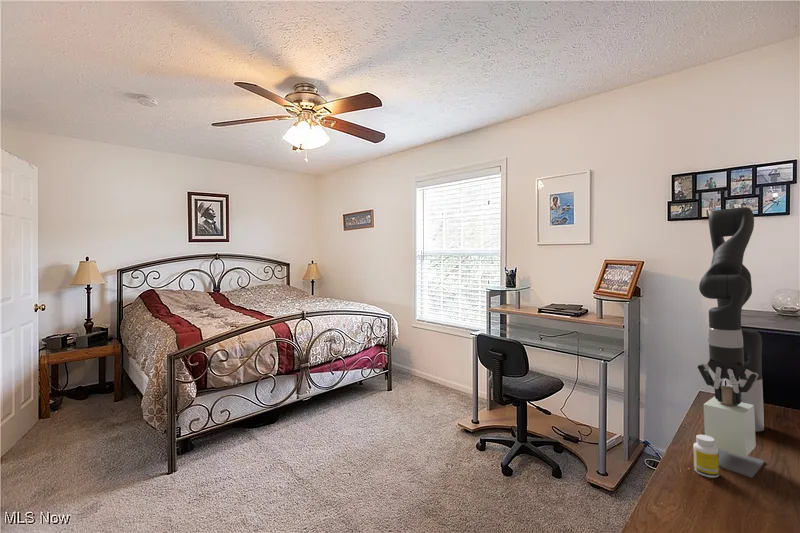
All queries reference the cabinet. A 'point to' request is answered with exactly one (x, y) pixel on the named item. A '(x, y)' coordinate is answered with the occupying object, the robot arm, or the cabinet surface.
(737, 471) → the mat
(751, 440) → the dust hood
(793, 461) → the cabinet surface
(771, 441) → the cabinet surface
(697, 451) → the supplement bottle
